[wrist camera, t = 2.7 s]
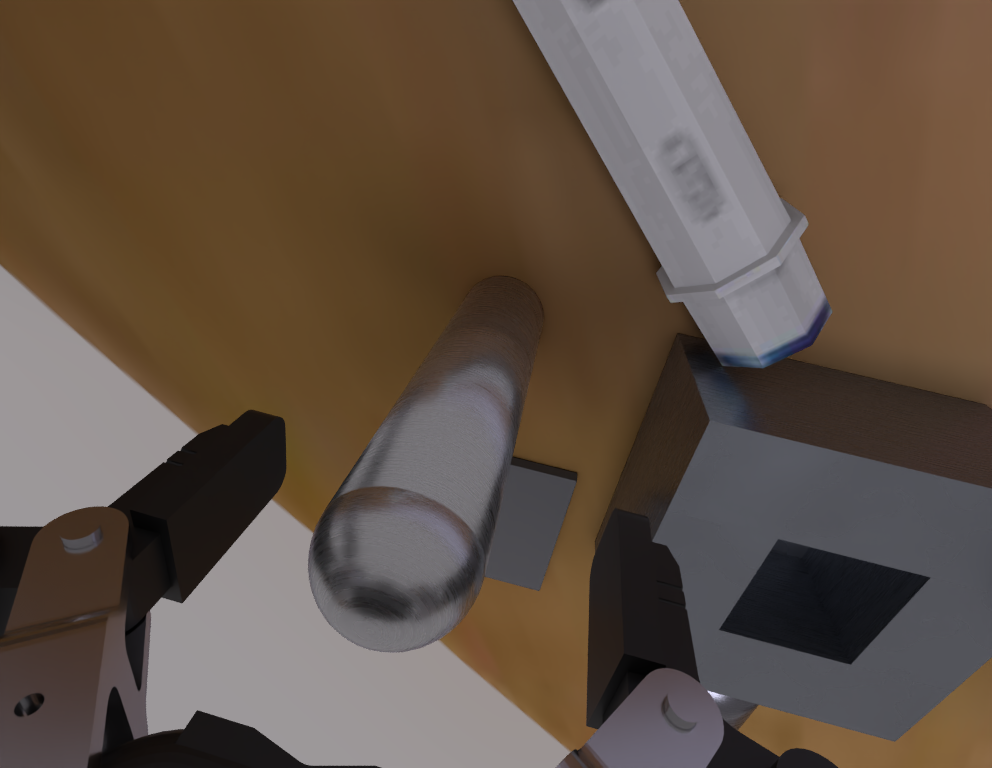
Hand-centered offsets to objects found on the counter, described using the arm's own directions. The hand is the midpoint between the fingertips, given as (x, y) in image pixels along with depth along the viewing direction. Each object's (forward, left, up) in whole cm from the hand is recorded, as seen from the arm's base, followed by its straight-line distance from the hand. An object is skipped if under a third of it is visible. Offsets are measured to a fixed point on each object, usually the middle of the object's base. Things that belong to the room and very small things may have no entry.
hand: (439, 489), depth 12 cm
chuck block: (+13, -7, -11) cm, 18 cm away
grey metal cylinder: (0, 0, -11) cm, 11 cm away
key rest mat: (+1, -11, -11) cm, 15 cm away
